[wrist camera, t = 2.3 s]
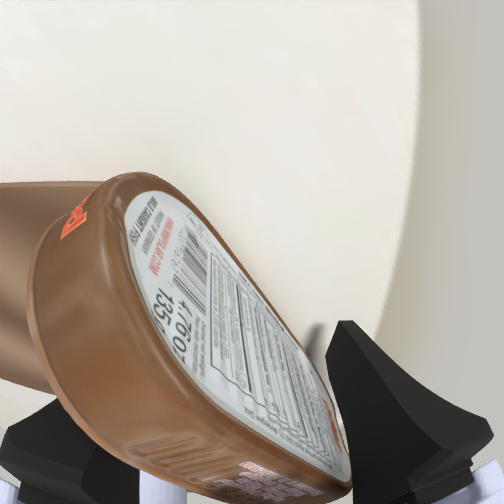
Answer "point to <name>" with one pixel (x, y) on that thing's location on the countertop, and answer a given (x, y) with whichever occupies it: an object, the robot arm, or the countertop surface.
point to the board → (27, 267)
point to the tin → (179, 352)
